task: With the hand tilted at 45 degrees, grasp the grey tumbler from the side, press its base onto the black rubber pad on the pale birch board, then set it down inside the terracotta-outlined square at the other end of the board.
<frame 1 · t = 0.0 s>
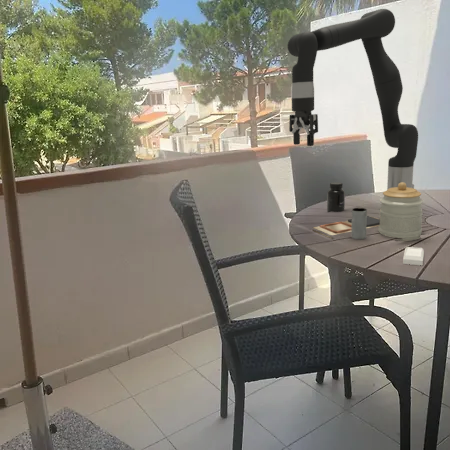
hand: (303, 145, 151), 29 cm above the table, tool pointing down, fingers open, 8 cm apart
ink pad: (366, 222, 154), resting on board
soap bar: (413, 261, 121), on the table
grey tumbler: (358, 241, 139), on the table
jar: (399, 236, 142), on the table
supplement bottle: (335, 213, 174), on the table
board: (352, 228, 152), on the table
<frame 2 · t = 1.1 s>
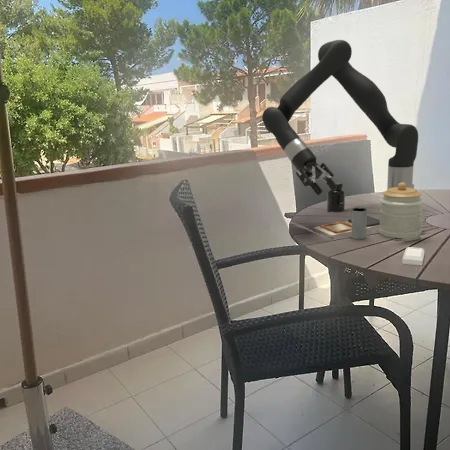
hand: (328, 191, 143), 15 cm above the table, tool tilted 45°, fingers open, 8 cm apart
nothing on the table moved.
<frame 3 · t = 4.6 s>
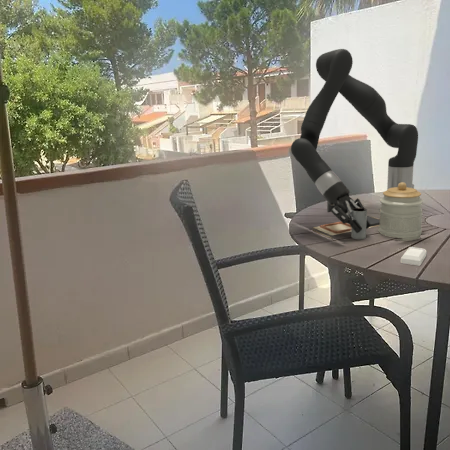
hand: (364, 229, 137), 4 cm above the table, tool tilted 45°, fingers closed on grey tumbler, 4 cm apart
grey tumbler: (358, 241, 139), on the table, touching gripper
everything else where it was.
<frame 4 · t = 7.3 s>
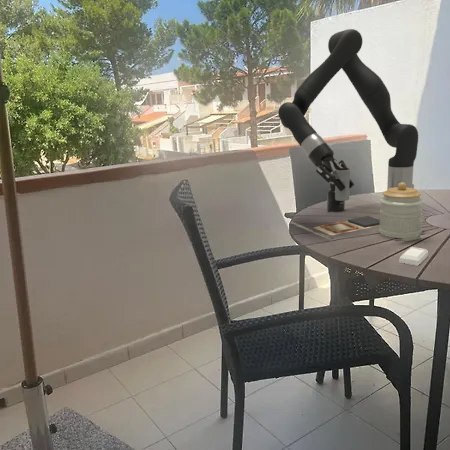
hand: (347, 187, 143), 16 cm above the table, tool tilted 45°, fingers closed on grey tumbler, 4 cm apart
grey tumbler: (342, 200, 146), point 11 cm above the table, touching gripper
everything else where it was.
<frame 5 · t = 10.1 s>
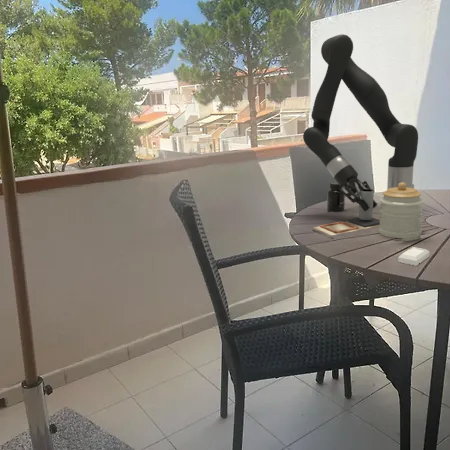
hand: (371, 208, 151), 7 cm above the table, tool tilted 45°, fingers closed on grey tumbler, 4 cm apart
grey tumbler: (365, 219, 154), point 3 cm above the table, touching gripper
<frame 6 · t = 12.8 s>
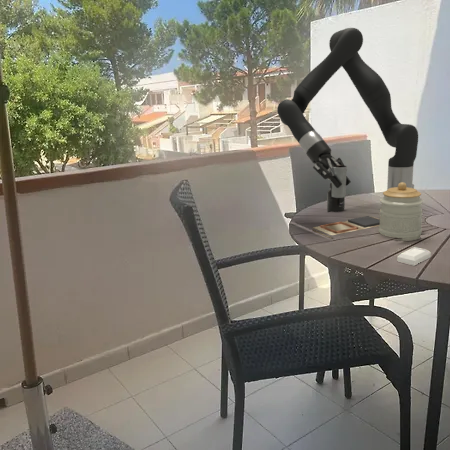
hand: (344, 185, 144), 16 cm above the table, tool tilted 45°, fingers closed on grey tumbler, 4 cm apart
grey tumbler: (338, 196, 147), point 12 cm above the table, touching gripper
when the fingers open (6 cm above the table, at t = 15.1 s): grey tumbler stays where it is, resting on board.
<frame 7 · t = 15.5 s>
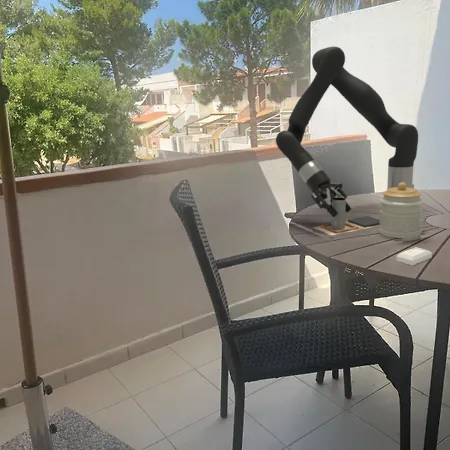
hand: (342, 213, 147), 7 cm above the table, tool tilted 45°, fingers open, 7 cm apart
grey tumbler: (338, 228, 150), point 1 cm above the table, touching board
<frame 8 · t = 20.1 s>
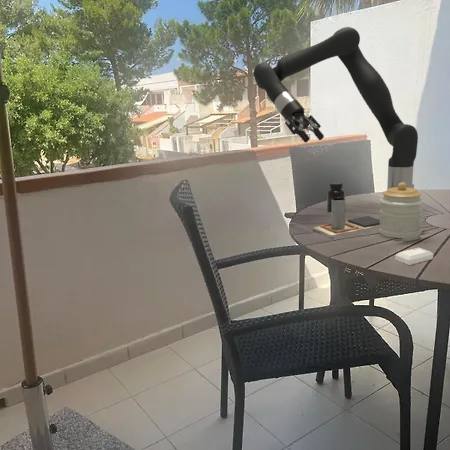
hand: (315, 139, 153), 31 cm above the table, tool tilted 45°, fingers open, 8 cm apart
at the end: grey tumbler 0.3 cm from the target spot, point 1.0 cm above the table; grey tumbler tilted 0°; the gripper is holding nothing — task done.
